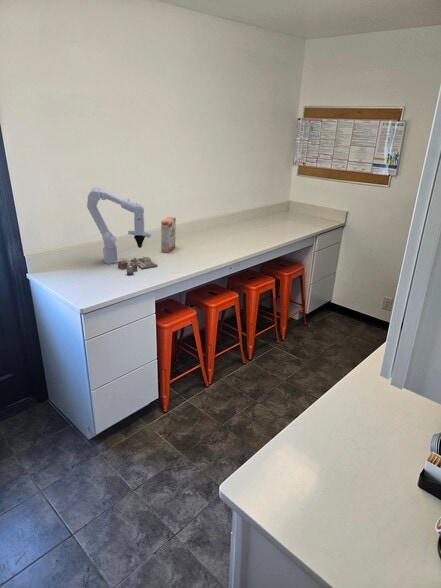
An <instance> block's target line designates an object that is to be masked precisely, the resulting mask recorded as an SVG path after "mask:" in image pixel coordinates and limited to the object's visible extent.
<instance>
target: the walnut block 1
mask: <svg viewBox="0 0 441 588" xmlns="http://www.w3.org/2000/svg"><path fill="white" fill-rule="evenodd" d="M128 263H129V262H128V261H127V260H125V259H124V260H119V262H118V263H117V268H118V269H119V270H121V271H122V270H123V271H124V270H127V265H129V264H128Z"/></svg>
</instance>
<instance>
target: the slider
mask: <svg viewBox="0 0 441 588" xmlns="http://www.w3.org/2000/svg"><path fill="white" fill-rule="evenodd" d="M141 258H142V263H143V264H145V265H150V264H151V261H152V258H150V257H149V256H145V257H144V258H143V257H141Z"/></svg>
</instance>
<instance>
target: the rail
mask: <svg viewBox="0 0 441 588" xmlns="http://www.w3.org/2000/svg"><path fill="white" fill-rule="evenodd" d="M144 257H146V256H145V255H143V257H140V258H137V257H133V259H131V263H137V268H140V269H141V270H147V269H153V268H158V266H159V265H158V264H157V263H155V262H154V261H152V260H151V264H150V265H145V264H143V263H142V258H144Z"/></svg>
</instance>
